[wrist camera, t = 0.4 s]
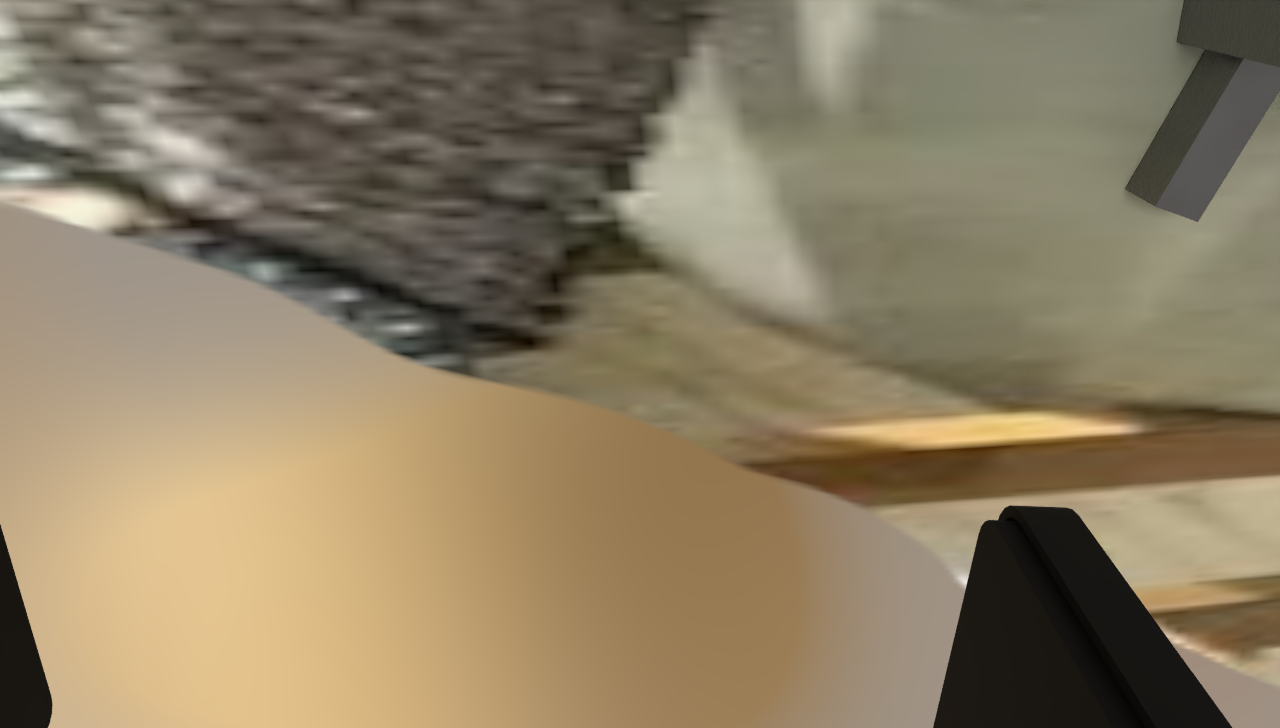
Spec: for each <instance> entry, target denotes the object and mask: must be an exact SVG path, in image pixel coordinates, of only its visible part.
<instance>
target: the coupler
mask: <svg viewBox="0 0 1280 728" xmlns="http://www.w3.org/2000/svg"><path fill="white" fill-rule="evenodd" d="M1177 42H1178V43H1182V44H1187V45H1191V46H1195V47H1199V48H1203V49H1206V51H1205V52H1204V54H1203V56H1202V57H1201V59H1200V61H1199V63H1198V64H1197V66H1196V68H1195V70H1194V71H1193V73H1192V75H1191V76H1190V78H1189V80H1188V82H1187V83H1186V85H1185V87H1184V89H1183V90H1182V92H1181V94H1180V95H1179V97H1178V99H1177V101H1176V102H1175V104H1174V106H1173V108H1172V109H1171V111H1170V113H1169V114H1168V116H1167V118H1166V120H1165V121H1164V123H1163V125H1162V127H1161V128H1160V130H1159V132H1158V133H1157V135H1156V137H1155V139H1154V140H1153V142H1152V144H1151V146H1150V147H1149V149H1148V151H1147V152H1146V154H1145V156H1144V158H1143V159H1142V161H1141V163H1140V165H1139V166H1138V168H1137V170H1136V171H1135V173H1134V175H1133V177H1132V178H1131V180H1130V182H1129V184H1128V185H1127V187H1126V190H1128V191H1130V192H1132V193H1133V194H1135V195H1137V196H1138V197H1140V198H1142V199H1144V200H1145V201H1147V202H1149V203H1151V204H1152V205H1154V206H1156V207H1159V208H1162V209H1164V210H1167V211H1170V212H1172V213H1175V214H1178V215H1180V216H1183V217H1186V218H1189V219H1191V220H1194V221H1197V222H1198V221H1199V219H1200V218H1201V216H1202V214H1203V213H1204V211H1205V210H1206V208H1207V206H1208V205H1209V203H1210V202H1211V200H1212V198H1213V197H1214V195H1215V193H1216V192H1217V190H1218V189H1219V187H1220V185H1221V184H1222V182H1223V181H1224V179H1225V177H1226V176H1227V174H1228V173H1229V171H1230V169H1231V168H1232V166H1233V165H1234V163H1235V161H1236V160H1237V158H1238V156H1239V155H1240V153H1241V152H1242V150H1243V148H1244V147H1245V145H1246V144H1247V142H1248V140H1249V139H1250V137H1251V136H1252V134H1253V132H1254V131H1255V129H1256V128H1257V126H1258V124H1259V123H1260V121H1261V120H1262V118H1263V116H1264V115H1265V113H1266V111H1267V110H1268V108H1269V107H1270V105H1271V103H1272V102H1273V100H1274V99H1275V97H1276V95H1277V94H1278V92H1279V91H1280V0H1185V1H1184V7H1183V12H1182V17H1181V23H1180V28H1179V34H1178V39H1177Z"/></svg>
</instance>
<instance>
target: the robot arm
mask: <svg viewBox="0 0 1280 728" xmlns="http://www.w3.org/2000/svg"><path fill="white" fill-rule="evenodd" d="M51 714H52V698H51V694H50V690H49V687H48V684H47V680H46V677H45V673H44V670H43V667H42V663H41V660H40V657H39V653H38V650H37V646H36V643H35V640H34V636H33V633H32V630H31V626H30V623H29V620H28V616H27V613H26V609H25V606H24V603H23V599H22V596H21V593H20V589H19V586H18V582H17V579H16V576H15V572H14V569H13V566H12V563H11V559H10V556H9V552H8V549H7V545H6V542H5V539H4V535H3V532H2V529H1V525H0V728H48V726H49V723H50V719H51ZM933 728H1232V727H1231V725H1230V724H1229V723H1228V721H1227V720H1226V718H1225V717H1224V715H1223V714H1222V713H1221V711H1220V710H1219V709H1218V707H1217V706H1216V704H1215V703H1214V702H1213V700H1212V699H1211V697H1210V696H1209V695H1208V693H1207V692H1206V691H1205V689H1204V688H1203V686H1202V685H1201V684H1200V682H1199V681H1198V680H1197V678H1196V677H1195V675H1194V674H1193V673H1192V671H1191V670H1190V669H1189V667H1188V666H1187V665H1186V663H1185V662H1184V660H1183V659H1182V658H1181V656H1180V655H1179V653H1178V652H1177V651H1176V650H1175V648H1174V647H1173V645H1172V644H1171V642H1170V641H1169V640H1168V638H1167V637H1166V635H1165V634H1164V633H1163V631H1162V630H1161V629H1160V627H1159V626H1158V624H1157V623H1156V622H1155V620H1154V619H1153V618H1152V616H1151V615H1150V613H1149V612H1148V611H1147V609H1146V608H1145V606H1144V605H1143V604H1142V602H1141V601H1140V600H1139V598H1138V597H1137V595H1136V594H1135V593H1134V591H1133V590H1132V589H1131V587H1130V586H1129V584H1128V583H1127V582H1126V580H1125V579H1124V577H1123V576H1122V575H1121V573H1120V572H1119V571H1118V569H1117V568H1116V566H1115V565H1114V564H1113V562H1112V561H1111V559H1110V558H1109V557H1108V555H1107V554H1106V553H1105V551H1104V550H1103V548H1102V547H1101V546H1100V544H1099V543H1098V542H1097V540H1096V539H1095V537H1094V536H1093V535H1092V533H1091V532H1090V530H1089V529H1088V528H1087V526H1086V525H1085V524H1084V522H1083V521H1082V519H1081V518H1080V517H1079V515H1078V514H1077V513H1076V512H1075V511H1073V510H1072V509H1069V508H1061V507H1034V506H1008V507H1006V508H1004V510H1003V511H1002V513H1001V514H1000V516H999V519H998V520H988V521H986V522H984V524H983V525H982V527H981V529H980V532H979V535H978V540H977V544H976V548H975V552H974V557H973V561H972V565H971V569H970V574H969V578H968V582H967V586H966V591H965V595H964V599H963V603H962V608H961V612H960V617H959V620H958V625H957V629H956V633H955V637H954V641H953V646H952V650H951V654H950V659H949V663H948V667H947V671H946V676H945V680H944V684H943V688H942V693H941V697H940V701H939V705H938V709H937V714H936V718H935V722H934V727H933Z"/></svg>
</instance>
